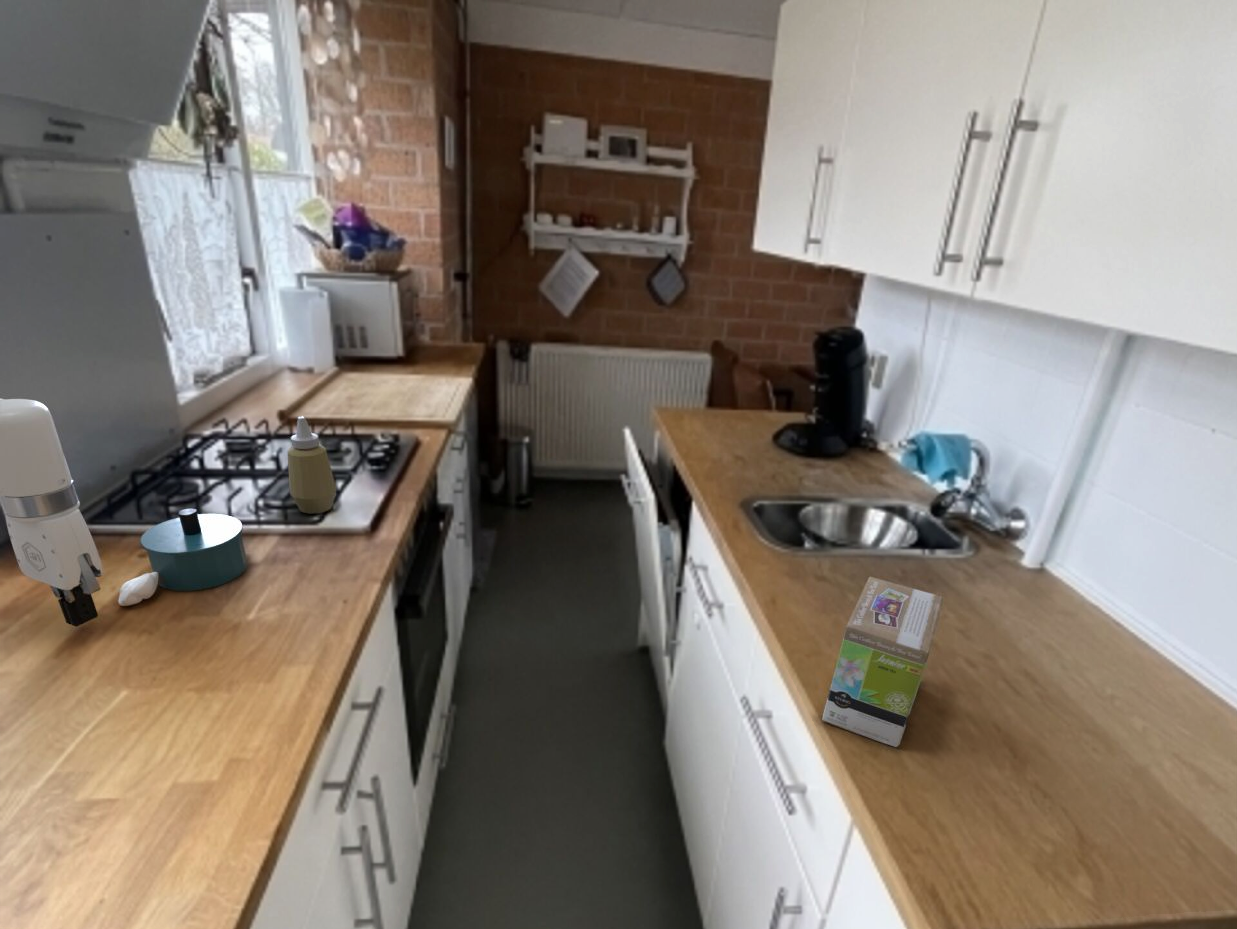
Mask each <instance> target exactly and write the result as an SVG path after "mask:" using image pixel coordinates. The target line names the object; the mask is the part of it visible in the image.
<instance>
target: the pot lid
mask: <svg viewBox="0 0 1237 929" xmlns="http://www.w3.org/2000/svg"><path fill="white" fill-rule="evenodd" d="M242 532H243V524H242V522H241V521H240V520H239V519H237V518H236V517H233V516H230V515H228V514H227V515H226V514H220V513H219V514H218V513H200V514H199V513H198V511H197V509H196V508H185V509H182V510H180V511H178V517H176V518H173V519H172V518H171V519H169V520H166V521H163V522H161V523H158V524H156V525H153V526H152V527H150V528H149V529H147V530H146V531H145V532H143V534H142V535H141V537H140V545H141V547H142V548H143V549H144V550H145V551H146V552H147V551H149V552H151V553H155V554H160V555H188V554H195V553H201V552H205V551H209V550H213V549H216V548H219V547H221V546H224V545H226V544H228V543H230V542H232V541H233V540H235V539H236V538H237V537H238V536H239V535H240V534H241V535H242Z"/></svg>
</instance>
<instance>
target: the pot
mask: <svg viewBox="0 0 1237 929" xmlns="http://www.w3.org/2000/svg"><path fill="white" fill-rule="evenodd" d="M245 549H246V548H245V545H244V541H243V536H242V533H241V534H240V535H239V536H238V537H237V538H236V539H235V540H233V541H232V542H230V543H228V544H226V545H224V546H221V547H219V548H216V549H213V550H209V551H205V552H201V553H195V554H188V555H160V554H155V553H151V552H149V551H147V550H146V552H147V556H148V559H149V563H150V567H151V569H152V572H157V573H158V584H157V585H159V586H160V587H162V588H164V589H166V590H170V591H175V592H176V591H177V592H193V591H201V590H206V589H210V588H215V587H217V586H221V585H223V584H226V583H229V582H231V581H233V580H235V579H236V578H238V577H239V576H240V575H242V574H243V573H244V572H245V570H246V569H247V567H248V566H247V565H248V563H247V562H248V558H247V554H246V550H245Z"/></svg>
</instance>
